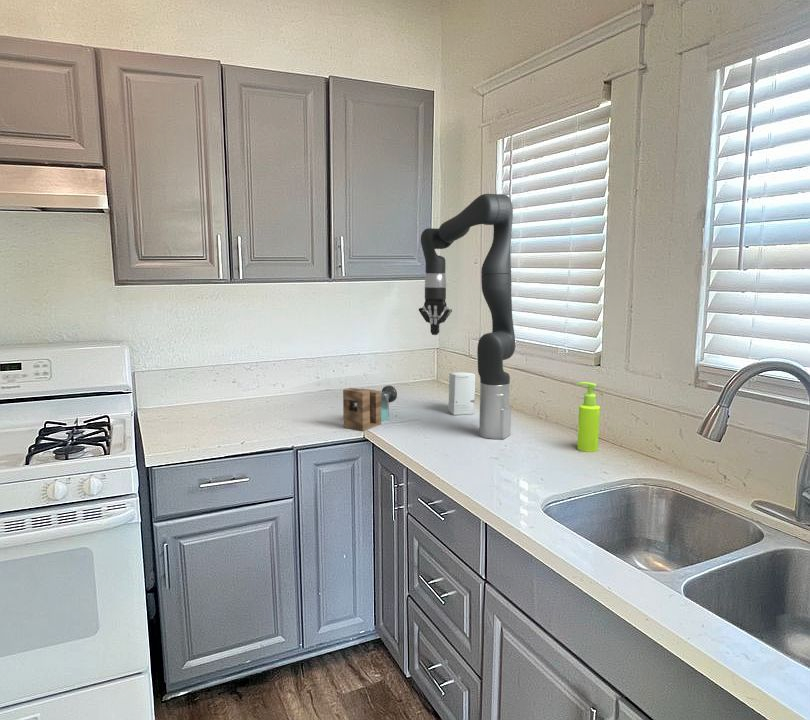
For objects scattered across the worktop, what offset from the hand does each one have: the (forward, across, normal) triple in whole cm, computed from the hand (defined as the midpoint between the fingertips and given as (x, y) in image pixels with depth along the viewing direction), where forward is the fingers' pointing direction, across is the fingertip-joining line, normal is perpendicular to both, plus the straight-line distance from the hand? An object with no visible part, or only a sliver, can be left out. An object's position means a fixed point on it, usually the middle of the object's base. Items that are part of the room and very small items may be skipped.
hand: (434, 334), depth 218 cm
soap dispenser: (+29, +59, -12) cm, 67 cm away
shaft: (+28, -12, -21) cm, 37 cm away
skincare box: (+29, +8, +6) cm, 31 cm away
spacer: (+29, -12, -19) cm, 37 cm away
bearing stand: (+29, -12, -28) cm, 42 cm away
